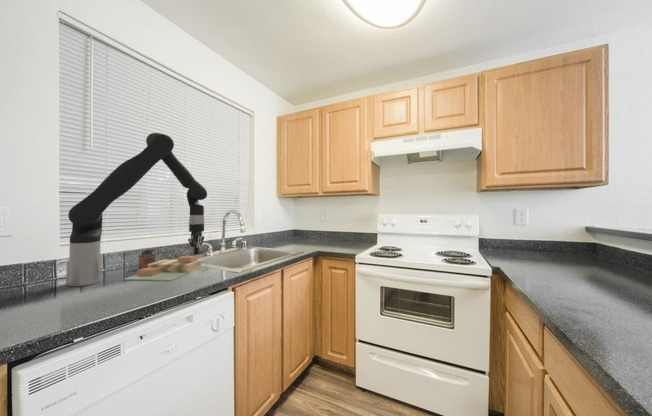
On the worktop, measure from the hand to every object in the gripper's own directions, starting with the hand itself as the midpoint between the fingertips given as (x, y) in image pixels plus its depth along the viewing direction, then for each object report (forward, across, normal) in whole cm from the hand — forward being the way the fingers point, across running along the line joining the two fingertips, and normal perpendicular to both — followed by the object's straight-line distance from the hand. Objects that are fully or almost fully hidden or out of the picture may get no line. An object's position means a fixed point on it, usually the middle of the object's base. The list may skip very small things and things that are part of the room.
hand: (196, 254), depth 137 cm
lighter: (+6, +7, -22) cm, 24 cm away
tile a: (+4, +21, -11) cm, 24 cm away
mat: (+6, +23, -5) cm, 24 cm away
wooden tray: (+6, +10, -5) cm, 13 cm away
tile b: (+1, +8, 0) cm, 8 cm away
